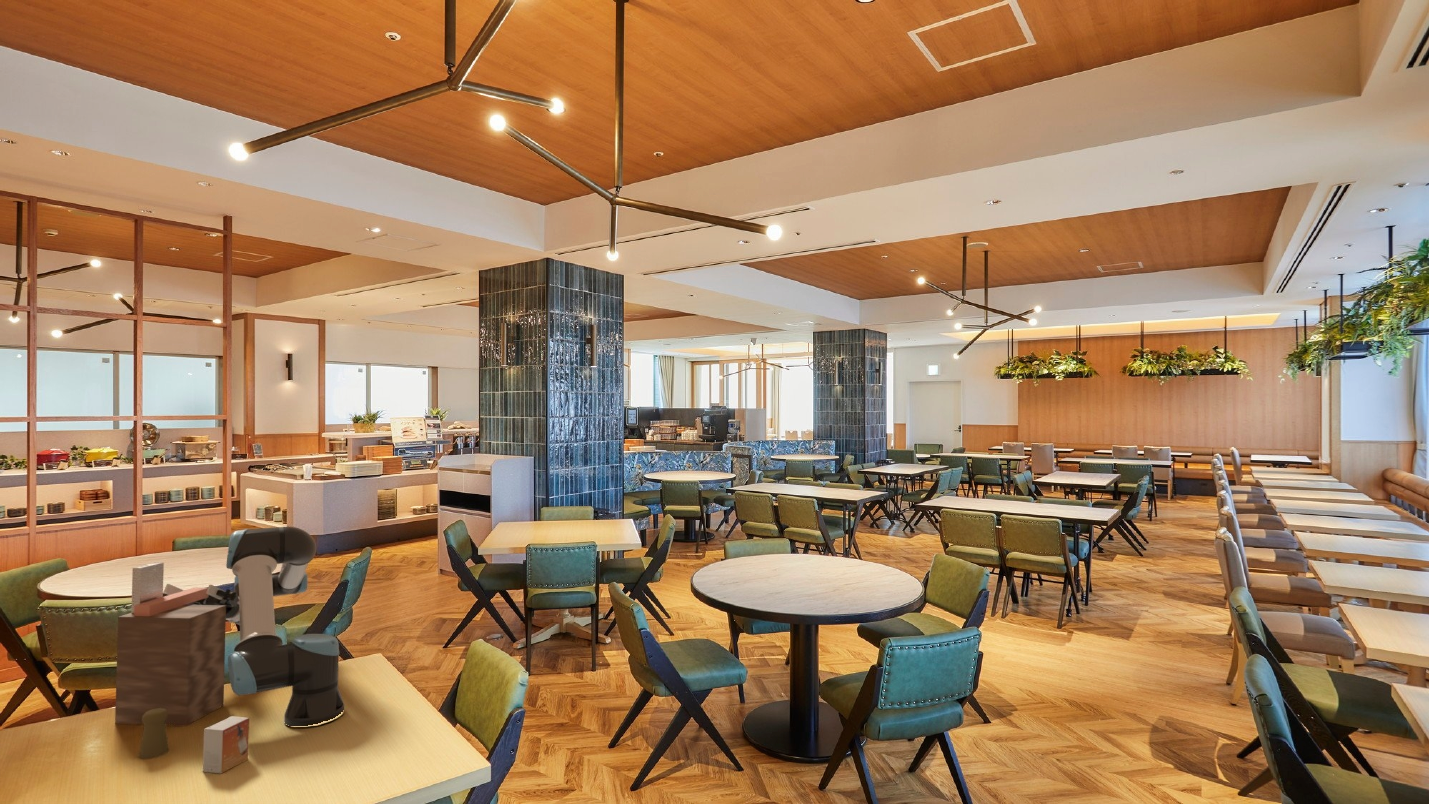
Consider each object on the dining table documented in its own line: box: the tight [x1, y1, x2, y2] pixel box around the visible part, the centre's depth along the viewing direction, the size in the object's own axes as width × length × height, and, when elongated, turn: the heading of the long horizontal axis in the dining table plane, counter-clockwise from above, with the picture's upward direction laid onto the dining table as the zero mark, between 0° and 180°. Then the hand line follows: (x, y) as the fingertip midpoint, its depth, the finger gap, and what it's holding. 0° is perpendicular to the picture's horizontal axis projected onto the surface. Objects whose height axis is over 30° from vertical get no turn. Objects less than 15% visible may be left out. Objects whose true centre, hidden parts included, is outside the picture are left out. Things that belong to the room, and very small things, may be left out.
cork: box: [138, 708, 170, 760], centre depth 182 cm, size 6×6×11 cm
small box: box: [202, 715, 250, 774], centre depth 176 cm, size 8×6×10 cm
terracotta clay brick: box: [134, 586, 208, 616], centre depth 212 cm, size 22×4×3 cm, turn 177°
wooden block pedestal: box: [114, 604, 227, 727], centre depth 206 cm, size 14×21×30 cm, turn 87°
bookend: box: [130, 561, 165, 613], centre depth 208 cm, size 8×2×13 cm, turn 177°
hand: (187, 588), depth 217 cm, fingers open, 13 cm apart
